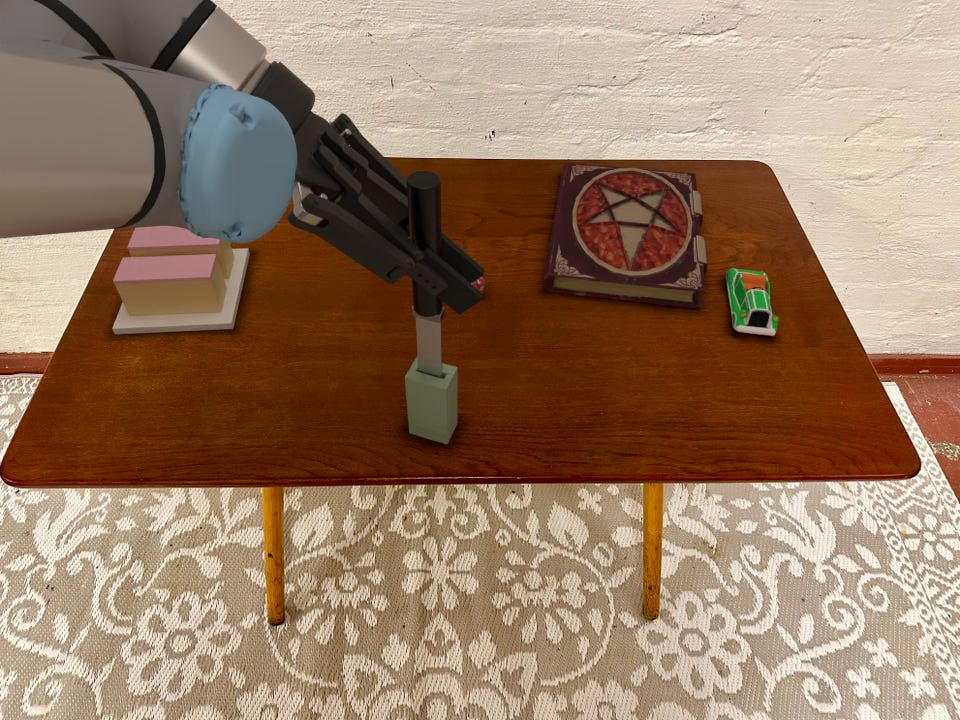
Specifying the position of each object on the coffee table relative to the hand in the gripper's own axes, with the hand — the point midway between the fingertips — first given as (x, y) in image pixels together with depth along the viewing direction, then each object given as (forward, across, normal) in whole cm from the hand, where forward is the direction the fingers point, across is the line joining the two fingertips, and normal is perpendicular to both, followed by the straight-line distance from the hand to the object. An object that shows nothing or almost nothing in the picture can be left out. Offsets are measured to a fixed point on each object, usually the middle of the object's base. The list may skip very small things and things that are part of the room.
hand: (471, 291), depth 59 cm
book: (+28, -37, +1) cm, 46 cm away
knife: (+8, 0, -13) cm, 16 cm away
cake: (-13, -20, -41) cm, 47 cm away
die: (+14, -23, -14) cm, 30 cm away
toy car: (+39, -22, +11) cm, 46 cm away
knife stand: (+11, 0, -17) cm, 20 cm away
